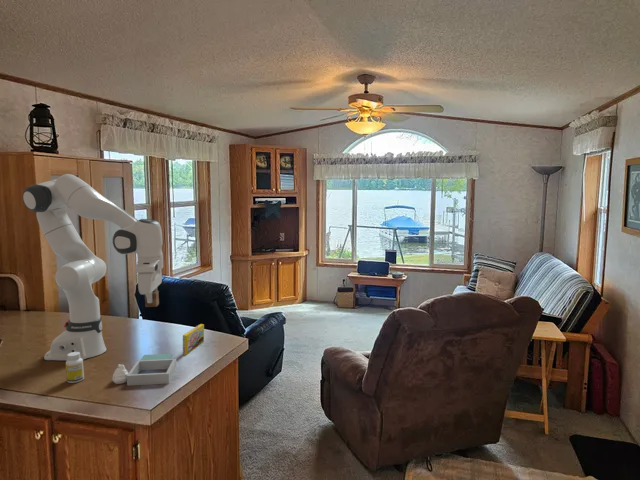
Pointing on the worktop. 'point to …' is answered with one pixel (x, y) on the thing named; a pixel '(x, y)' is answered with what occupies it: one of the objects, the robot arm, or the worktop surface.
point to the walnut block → (155, 300)
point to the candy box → (193, 339)
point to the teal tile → (156, 357)
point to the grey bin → (151, 378)
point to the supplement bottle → (74, 367)
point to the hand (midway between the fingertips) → (151, 300)
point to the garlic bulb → (120, 375)
